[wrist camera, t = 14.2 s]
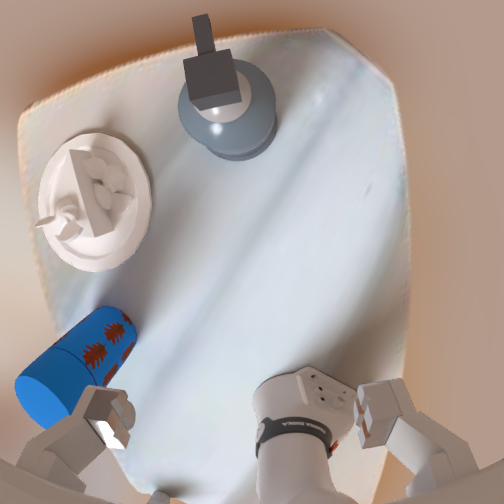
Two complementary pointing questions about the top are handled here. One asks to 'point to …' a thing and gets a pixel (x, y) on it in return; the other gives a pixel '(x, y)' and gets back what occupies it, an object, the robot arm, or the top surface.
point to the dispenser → (235, 118)
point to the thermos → (75, 365)
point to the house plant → (159, 498)
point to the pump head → (210, 71)
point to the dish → (95, 202)
